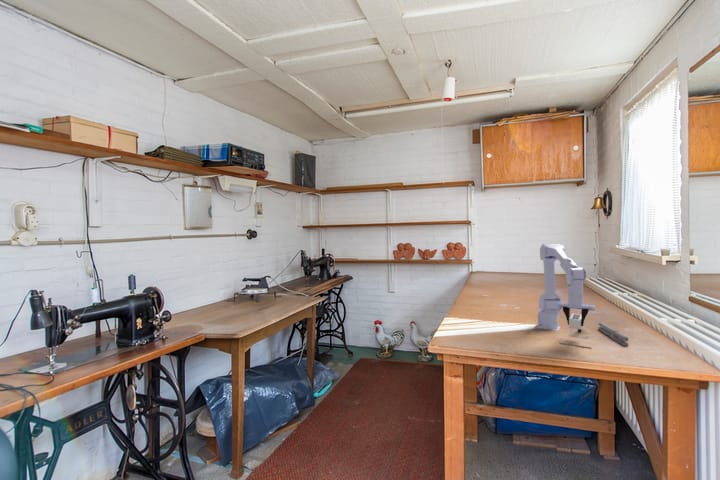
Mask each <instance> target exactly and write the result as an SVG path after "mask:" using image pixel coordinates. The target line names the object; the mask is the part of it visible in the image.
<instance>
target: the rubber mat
mask: <svg viewBox="0 0 720 480" xmlns="http://www.w3.org/2000/svg"><path fill="white" fill-rule="evenodd" d="M558 344H559V345H564V346H570V347H577V348H583V349H589V350H591V349H592V347H591V346H590V347H589V346H582V345H577V344H576V345H575V344H570V343H561V342H559V343H558Z"/></svg>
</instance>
